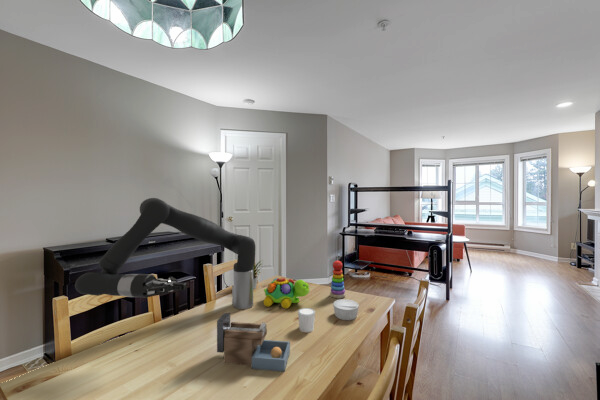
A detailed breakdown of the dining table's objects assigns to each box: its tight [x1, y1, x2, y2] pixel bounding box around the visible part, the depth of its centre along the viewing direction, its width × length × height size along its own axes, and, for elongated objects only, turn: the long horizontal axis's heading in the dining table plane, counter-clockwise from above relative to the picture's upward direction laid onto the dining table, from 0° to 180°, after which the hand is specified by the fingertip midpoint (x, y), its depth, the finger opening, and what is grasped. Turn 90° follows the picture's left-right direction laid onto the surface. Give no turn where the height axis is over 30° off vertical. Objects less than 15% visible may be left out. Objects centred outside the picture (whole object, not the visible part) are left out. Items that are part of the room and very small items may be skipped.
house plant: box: [253, 260, 264, 290], centre depth 154 cm, size 14×14×16 cm
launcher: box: [223, 321, 268, 366], centre depth 88 cm, size 12×7×10 cm, turn 83°
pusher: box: [216, 312, 266, 354], centre depth 88 cm, size 14×6×10 cm, turn 83°
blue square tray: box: [251, 339, 291, 372], centre depth 87 cm, size 10×10×4 cm
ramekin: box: [332, 298, 360, 321], centre depth 119 cm, size 11×11×5 cm
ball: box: [271, 347, 282, 358], centre depth 87 cm, size 4×4×4 cm
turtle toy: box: [263, 276, 310, 309], centre depth 134 cm, size 17×23×12 cm
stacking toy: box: [329, 260, 346, 299], centre depth 142 cm, size 8×8×19 cm
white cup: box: [297, 307, 316, 333], centre depth 107 cm, size 7×7×7 cm
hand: (185, 286), depth 90 cm, fingers closed
